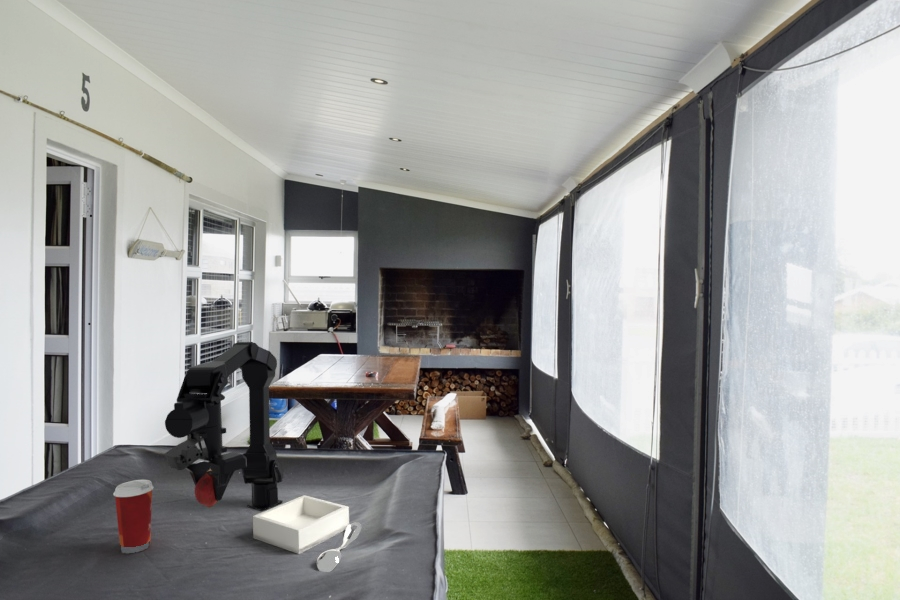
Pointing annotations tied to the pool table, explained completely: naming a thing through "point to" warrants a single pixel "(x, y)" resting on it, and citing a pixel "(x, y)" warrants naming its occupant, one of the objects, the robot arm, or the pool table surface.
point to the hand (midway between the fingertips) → (209, 497)
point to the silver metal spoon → (337, 550)
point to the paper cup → (134, 512)
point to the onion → (205, 491)
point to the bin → (300, 523)
